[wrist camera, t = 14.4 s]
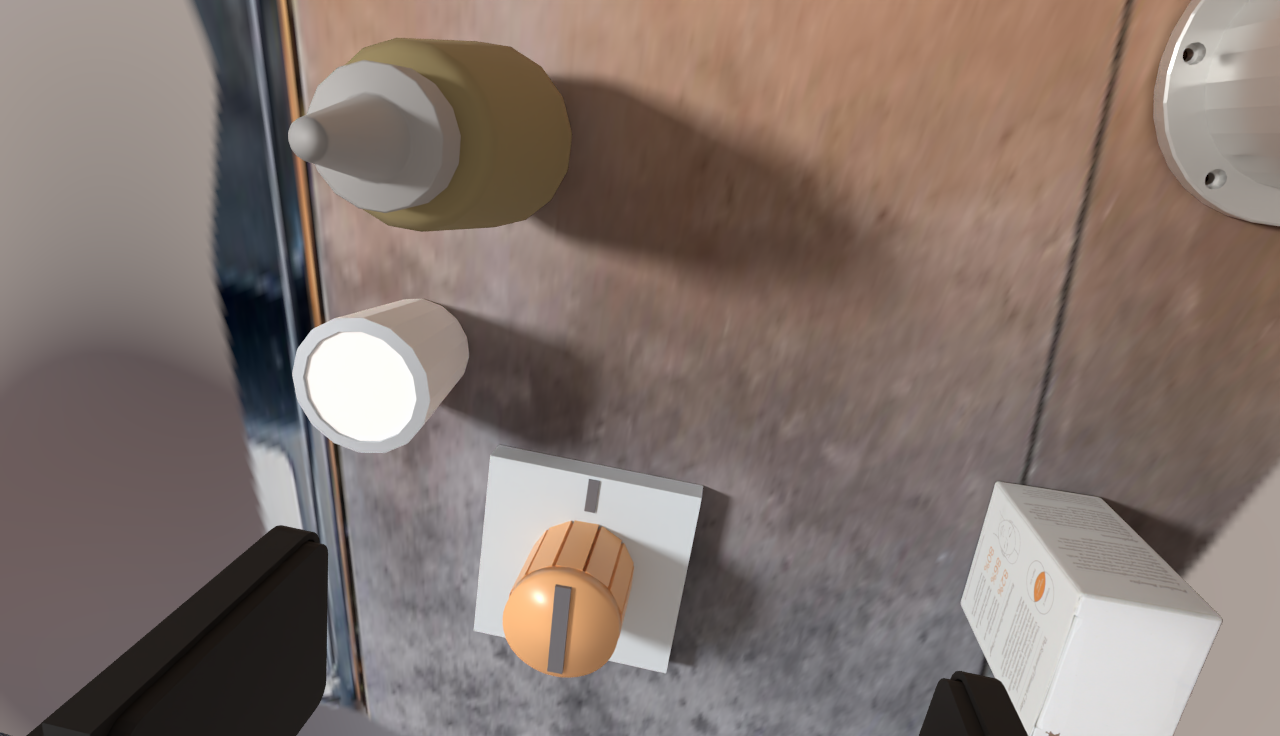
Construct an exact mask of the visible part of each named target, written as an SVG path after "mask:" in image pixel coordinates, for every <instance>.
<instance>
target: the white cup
mask: <svg viewBox="0 0 1280 736" xmlns="http://www.w3.org/2000/svg"><path fill="white" fill-rule="evenodd" d="M468 359H469V349H468V341H467V336H466V334H465V333H464V331H463V329H462V327H461V325H460V323H459V321H458V320H457V319H456V318H455V317H454V316H453V315H452V314H451V313H450V312H448V311H447V310H446V309H445V308H444V307H443V306H441V305H438V304H436V303H433V302H431V301H428V300H425V299H404V300H400V301H397V302H393V303H389V304H386V305H382V306H378V307H375V308H371V309H367V310H364V311H360V312H356V313H353V314H349V315H345V316H342V317H338V318H335V319H333V320H331V321H328V322H326V323H324V324H322V325H320V326H318V327H316V328H314V329H312V330H311V332H310V333H309V334H308V336H307V337H306V338H305V340H304V341H303V342H302V344H301V345H300V346H299V347H298V349H297V353H296V358H295V363H294V368H293V373H292V375H293V380H294V385H295V390H296V395H297V400H298V402H299V404H300V405H301V407H302V409H303V410H304V412H305V414H306V415H307V417H308V419H309V420H310V422H311V424H312V425H313V426H314V427H316V428H317V429H318V430H319V431H320V432H322V433H323V434H324V435H325V436H326V437H328V438H329V439H330V440H331V441H332V442H333V443H336V444H338V445H341V446H344V447H346V448H349V449H351V450H354V451H356V452H359V453H386V452H388V451H391V450H393V449H395V448H398V447H400V446H402V445H405V444H407V443H408V442H409V441H410V440H411V439H412V438H413V437H414V435H415V434H416V433H417V432H418V431H419V430H420V429H421V427H422V426H423V425H424V424H425V423H426V421H427V420H428V419H429V418H430V416H431V415H432V414H433V413H434V411H435V410H436V409H437V407H438V406H439V405H440V404H441V402H442V401H443V400H444V399H445V397H446V396H447V395H448V394H449V392H450V391H451V390H452V389H453V387H454V386H455V385H456V383H457V382H458V381H459V380H460V378H461V377H462V376H463V375H464V373H465V370H466V366H467V363H468Z"/></svg>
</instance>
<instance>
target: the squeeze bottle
mask: <svg viewBox="0 0 1280 736" xmlns="http://www.w3.org/2000/svg"><path fill="white" fill-rule="evenodd" d="M288 140H289V143H290V146H291V149H292V150H293V151H294V153H295V154H296V155H297V156H298V157H300V158H301V159H303V160H304V161H307V162H310V163H313V164H315V166H316V169H317V171H318V172H319V173H320V175H321V176H322V177H323V178H324V180H325V181H326V182H327V183H328V185H329V186H330V187H331V189H332V190H333V191H334V192H335V193H336V194H337V195H339V196H340V197H342V198H343V199H345V200H347V201H348V202H350V203H351V204H353V205H355V206H356V207H358V208H360V209H363V210H365V211H366V212H368V213H369V214H371V215H373V216H374V217H376V218H377V219H379V220H380V221H382V222H384V223H385V224H387V225H388V226H394V227H399V228H405V229H410V230H416V231H421V232H423V231H439V230H456V229H473V228H489V227H497V226H502V225H506V224H510V223H514V222H518V221H523V220H526V219H527V218H529V217H530V216H531V215H532V214H534V213H535V212H536V211H538V210H539V209H540V208H542V207H543V206H544V205H545V204H547V203H548V202H549V201H551V200H552V198H553V196H554V194H555V192H556V191H557V189H558V187H559V185H560V183H561V182H562V180H563V178H564V176H565V174H566V172H567V171H568V165H569V156H570V148H571V140H572V131H571V127H570V123H569V119H568V115H567V111H566V107H565V103H564V99H563V97H562V95H561V94H560V93H559V91H558V90H557V88H556V87H555V85H554V84H553V83H552V81H551V80H550V78H549V77H548V75H547V74H546V73H545V71H544V70H543V68H542V67H541V66H539V65H538V64H536V63H535V62H533V61H532V60H530V59H529V58H527V57H526V56H524V55H522V54H521V53H519V52H518V51H516V50H515V49H513V48H512V47H508V46H502V45H496V44H489V43H483V42H477V41H456V40H434V39H411V38H395V39H391V40H388V41H385V42H381V43H378V44H375V45H371V46H368V47H365V48H363V49H362V50H361V51H359V52H358V53H357V54H356V55H355V56H354V57H353V58H352V59H351V60H350V61H349V62H348V63H347V64H346V65H344V66H341V67H338V68H337V69H336V70H335V71H333V72H332V73H331V74H330V75H329V76H328V77H327V78H326V79H325V80H324V81H323V82H322V83H321V84H320V85H319V86H318V87H317V90H316V92H315V95H314V97H313V99H312V102H311V104H310V107H309V109H308V112H307V115H305V116H303V117H300V118H298V119H296V120H295V121H294V122H293V123H292V124H291V126H290V129H289V131H288Z"/></svg>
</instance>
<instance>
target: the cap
mask: <svg viewBox="0 0 1280 736" xmlns="http://www.w3.org/2000/svg"><path fill="white" fill-rule="evenodd" d="M598 528H599V524H593V523H587V522H582V521H576V520H575V521H574V523H572V521H568V522H565V523H562V524H559V525H556V526H553V527H550V528H549V530H546V531H545V532H544V534H543V535H542V536H541V537H540V538H539V540H538V541H537V542H536V543H535V544H534V546H533V548H532V550H531V552H530V554H529V556H528V558H527V560H526V562H525V564H524V566H523V568H522V570H521V572H520V574H519V576H518V578H517V580H516V582H515V584H514V586H513V588H512V590H511V592H510V594H509V599H508V601H507V603H506V605H505V608H504V611H503V630H504V634H505V637H506V639H507V641H508V644H509V645H510V647H511V648H512V650H513V651H514V652H515V654H516V655H517V656H518V657H519V658H520V659H521V660H522V661H524V662H525V663H526V664H528V665H529V666H531V667H532V668H534V669H536V670H538V671H540V672H543V673H545V674H548V675H552V676H557V677H579V676H584V675H587V674H590V673H592V672H594V671H596V670H598V669H599V668H601V667H602V666H603V665H604V664H605V663H606V662H607V661H608V660H609V659H610V658H611V656H612V654H613V653H614V651H615V648H616V645H617V641H618V638H619V637H620V633H621V629H622V625H623V620H624V616H625V612H626V608H627V604H628V600H629V596H630V591H631V587H632V580H633V572H634V566H633V564H634V563H633V561H632V558H631V556H630V554H629V552H628V550H627V548H626V546H625V544H624V543H622V544H621V542H622V540H621V539H619V538H618V537H617V536H615V535H614V534H613V533H611V532H610V531H609V530H607V529H606V528H604V527H603V526H602V527H601V528H600V529H599V530H598Z"/></svg>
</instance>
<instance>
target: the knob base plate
mask: <svg viewBox="0 0 1280 736" xmlns="http://www.w3.org/2000/svg"><path fill="white" fill-rule="evenodd" d="M702 492H703V486H702V485H697V484H692V483H687V482H682V481H677V480H672V479H667V478H662V477H657V476H652V475H647V474H642V473H638V472H633V471H628V470H623V469H618V468H613V467H608V466H603V465H598V464H593V463H588V462H583V461H578V460H573V459H568V458H563V457H558V456H553V455H548V454H543V453H538V452H533V451H528V450H523V449H518V448H513V447H508V446H503V445H498V446H497V448H496V449H495V450H494V452H493V453H492V454H491V455H490V465H489V476H488V486H487V497H486V507H485V518H484V528H483V539H482V549H481V560H480V570H479V581H478V591H477V602H476V613H475V623H474V631H477V632H482V633H486V634H491V635H495V636H500V637H505V634H504V630H503V611H504V608H505V605H506V603H507V601H508V599H509V594H510V592H511V590H512V588H513V586H514V584H515V582H516V580H517V578H518V576H519V574H520V572H521V570H522V568H523V566H524V564H525V562H526V560H527V558H528V556H529V554H530V552H531V550H532V548H533V546H534V544H535V543H536V542H537V541H538V540H539V538H540V537H541V536H542V535H543V534H544V532H545V531H546V530H549V528H550V527H553V526H556V525H559V524H562V523H565V522H568V521H572V523H574V521H575V520H576V521H582V522H587V523H593V524H599V528H598V530H599V529H600V528H601V527H602V526H603V527H604V528H606V529H607V530H609V531H610V532H611V533H613V534H614V535H615V536H617V537H618V538H619V539H621V540H622V542H621V544H622V543H624V544H625V546H626V548H627V550H628V552H629V554H630V556H631V558H632V561H633V563H634V564H633V566H634V572H633V580H632V587H631V591H630V596H629V600H628V604H627V608H626V612H625V616H624V620H623V625H622V629H621V633H620V637H619V638H618V641H617V645H616V648H615V651H614V653H613V654H612V656H611V658H610V659H609V660H608V661H613V662H617V663H622V664H626V665H631V666H635V667H640V668H644V669H649V670H653V671H658V672H662V673H666V671H667V666H668V661H669V656H670V651H671V646H672V642H673V637H674V632H675V627H676V622H677V617H678V612H679V607H680V603H681V598H682V593H683V588H684V583H685V578H686V573H687V568H688V563H689V559H690V554H691V549H692V544H693V539H694V534H695V529H696V524H697V520H698V515H699V510H700V505H701V500H702ZM505 638H506V637H505Z"/></svg>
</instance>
